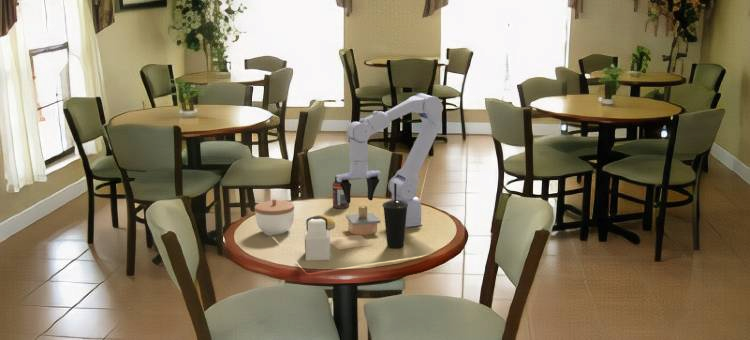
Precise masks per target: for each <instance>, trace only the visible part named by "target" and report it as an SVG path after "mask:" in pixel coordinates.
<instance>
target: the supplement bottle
mask: <svg viewBox="0 0 750 340" xmlns="http://www.w3.org/2000/svg"><path fill="white" fill-rule="evenodd" d="M337 175H338V174H336V175H335V176H334V181H333V182H332V206H333V208H335V209H346V208H349V206H350V203H347V202H346V199H345V195H344V192H343V189H342V187H341V185H340V183H339V182H338V181H337Z"/></svg>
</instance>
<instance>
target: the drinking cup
mask: <svg viewBox="0 0 750 340" xmlns="http://www.w3.org/2000/svg"><path fill="white" fill-rule="evenodd" d="M407 207H408V203H406V202H403V201H401V200H396V183H394V200H392V199H391V200H388V201H385V202H382V208H383V215H384V226H385V235H386V245H387V248H388V249H392V250H394V249H395V250H399V249H402V248H404V245H405V244H404V243H405V235H406V227H405V225H406V214H407Z"/></svg>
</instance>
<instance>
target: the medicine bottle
mask: <svg viewBox="0 0 750 340" xmlns="http://www.w3.org/2000/svg"><path fill="white" fill-rule="evenodd" d="M314 216H315V217H314ZM314 216H310V217H308V218H307V219H306V220H305V221H306V230H305V231H304V253H305V254H304V256H305V261H322V260H323V261H325V260H326V261H327V260H329V261H330V260H331V242H330V238H331V237H330V236H331V235H330V230H327V219H326V218H324V217H320V216H317V215H314Z"/></svg>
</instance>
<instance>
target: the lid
mask: <svg viewBox="0 0 750 340" xmlns="http://www.w3.org/2000/svg"><path fill="white" fill-rule="evenodd" d="M345 218H346V219H347V221H348V220H349V222H350V223H351V224H352V225H364V224H375V223H377V224H381V219H379V218H378V217H377V215H376V214H375V213H373V212H368V206H366V205H360V206H358V214H357V213H356V214H347V215H345Z"/></svg>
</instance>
